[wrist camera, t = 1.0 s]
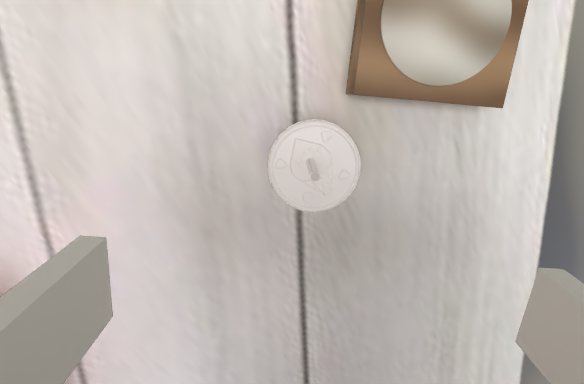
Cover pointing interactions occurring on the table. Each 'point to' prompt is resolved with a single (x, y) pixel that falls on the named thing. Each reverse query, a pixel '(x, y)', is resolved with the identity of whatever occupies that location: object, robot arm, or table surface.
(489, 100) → the pedestal
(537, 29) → the table surface
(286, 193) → the smoothie
